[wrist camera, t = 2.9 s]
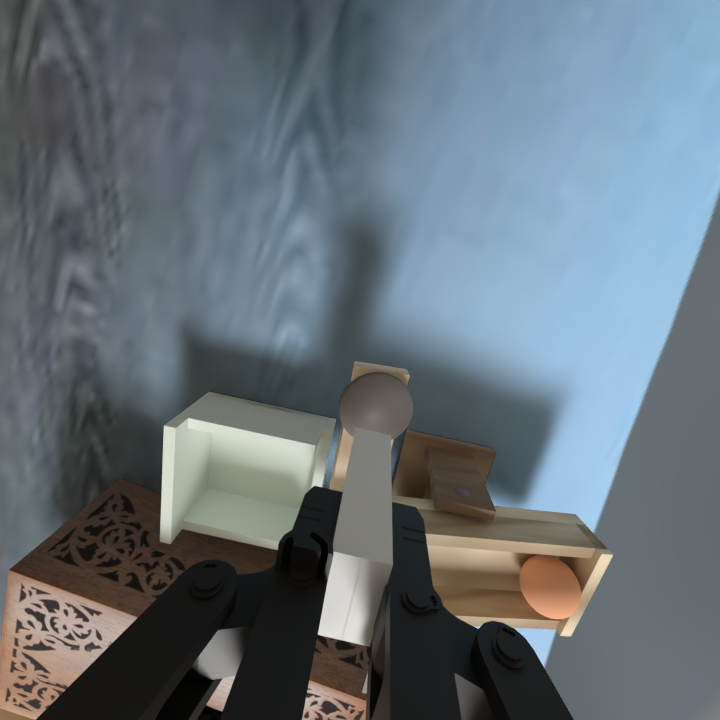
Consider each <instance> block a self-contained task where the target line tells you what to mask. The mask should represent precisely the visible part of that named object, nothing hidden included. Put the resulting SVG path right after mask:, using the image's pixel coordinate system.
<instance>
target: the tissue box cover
mask: <svg viewBox="0 0 720 720" xmlns="http://www.w3.org/2000/svg"><path fill="white" fill-rule="evenodd" d="M160 521H161V494H160V493H157V492H155V491H152V490H150V489H147V488H144V487H142V486H139V485H136V484H134V483H131V482H129V481H126V480H123V479H121V478H120V479H119V480H117V481H116V482H115V483H114V484H113V485H111V486H110V487H109V488H108V489H107V490H105V491H104V492H103V493H102V494H100V495H99V496H98V497H97V498H96V499H94V500H93V501H92V502H91V503H90V504H88V505H87V506H86V507H85V508H84V509H82V510H81V511H80V512H79V513H77V514H76V515H75V516H74V517H73V518H71V519H70V520H69V521H68V522H67V523H65V524H64V525H63V526H62V527H60V528H59V529H58V530H57V531H56V532H54V533H53V534H52V535H51V536H50V537H48V538H47V539H46V540H45V541H43V542H42V543H41V544H40V545H39V546H37V547H36V548H35V549H34V550H33V551H31V552H30V553H29V554H28V555H27V556H25V557H24V558H23V559H22V560H20V561H19V562H18V563H17V564H16V565H14V566H13V567H12V568H11V569H10V570H9V573H8V582H7V591H6V599H5V608H4V616H3V625H2V634H1V642H0V709H3V710H6V711H9V712H12V713H14V714H17V715H20V716H23V717H26V718H29V719H31V720H36V719H37V718H38V717H39V716H40V715H41V714H42V713H43V712H44V711H45V710H46V709H47V708H48V707H49V706H50V705H51V704H52V703H53V702H54V701H55V700H56V699H57V698H58V697H59V696H60V695H61V694H62V693H63V692H64V691H65V690H66V689H67V688H68V687H69V686H70V685H71V684H72V683H73V682H74V681H75V680H76V679H77V678H78V677H79V676H80V675H81V674H82V673H83V672H84V671H85V670H86V669H87V668H88V667H89V666H90V665H91V664H92V663H93V662H94V661H95V660H96V659H97V658H98V657H99V656H100V655H101V654H102V653H103V652H104V651H105V650H106V649H107V648H108V647H109V646H110V645H111V644H112V643H113V642H114V641H115V640H116V639H117V638H118V637H119V636H120V635H121V634H122V633H123V632H124V631H125V630H126V629H127V628H128V627H129V626H130V625H131V624H132V623H133V622H134V621H135V620H136V619H137V618H138V617H139V616H140V615H141V614H142V613H143V612H144V611H145V610H146V609H147V608H148V607H149V606H150V605H151V604H152V603H153V602H154V601H155V600H156V599H157V598H158V597H159V596H160V595H161V594H162V593H163V592H164V591H165V590H166V589H167V588H168V587H169V586H170V585H171V584H172V583H173V582H174V581H175V580H176V579H177V578H178V577H179V576H180V575H181V574H182V573H183V572H184V571H185V570H187V569H188V568H189V567H191V566H192V565H194V564H196V563H199V562H201V561H204V560H214V559H217V560H221V561H225V562H228V563H229V564H230V565H231V566H233V567H234V568H235V570H236V572H237V575H239V574H251V573H257V572H262V571H264V570H267V569H269V568H271V567H272V566H274V565H275V563H276V557H277V551H278V550H274V549H270V548H265V547H261V546H256V545H252V544H247V543H243V542H238V541H234V540H229V539H225V538H220V537H216V536H211V535H207V534H203V533H198V532H194V531H189V530H185V529H182V530H181V531H180V532H179V534H178V535H177V536H176V537H175V539H174V540H173V541H172V543H171V544H167V543H163V542H160ZM372 653H373V637H372V641H371V644H370V647H369V646H364V645H360V644H356V643H351V642H347V641H343V640H338V639H334V638H330V637H325V636H321V635H318V636H317V641H316V647H315V652H314V657H313V663H312V668H311V674H310V679H309V684H308V690H307V695H306V700H305V706H304V711H303V717H302V720H365V719H366V700H367V693H366V694H365V693H362V690H363V686H364V682H365V678H366V675H367V671H368V668H369V664H370V661H371V657H372ZM234 679H235V676H232V677H226V678H223V679H222V681H221V682H220V684H219V685H218V687H217V688H216V690H215V692H214V693H213V695H212V696H211V698H210V700H209V701H208V703H207V704H206V706H205V707H204V709H203V711H202V712H201V714H200V715H199V717H198V718H197V720H219V719H220V717H221V714H222V711H223V709H224V706H225V703H226V700H227V698H228V695H229V692H230V689H231V687H232V684H233V681H234Z"/></svg>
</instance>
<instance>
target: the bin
mask: <svg viewBox="0 0 720 720" xmlns="http://www.w3.org/2000/svg"><path fill="white" fill-rule="evenodd" d="M335 424H336V419H334V418H329V417H325V416H320V415H315V414H311V413H306V412H301V411H297V410H292V409H287V408H283V407H278V406H274V405H269V404H264V403H260V402H255V401H250V400H246V399H241V398H236V397H232V396H227V395H222V394H218V393H213V392H208V393H207V394H205V395H204V396H203V397H201V398H200V399H199V400H197V401H196V402H195V403H193V404H192V405H191V406H189V407H188V408H187V409H185V410H184V411H183V412H181V413H180V414H179V415H177V416H176V417H175V418H173V419H172V420H171V421H169V422H168V423H167V424H165V425H164V436H163V464H162V493H161V521H160V542H163V543H167V544H171V543H172V541H173V540H174V539H175V537H176V536H177V535H178V534H179V532H180V531H181V530H182V529H185V530H189V531H194V532H198V533H203V534H207V535H211V536H216V537H220V538H225V539H229V540H234V541H238V542H243V543H247V544H252V545H256V546H261V547H265V548H270V549H274V550H278V545H279V541H280V540H281V539H282V537H283V536H284V534H286V533H288V532H289V531H291V530H292V529H293V526H294V523H295V521H296V518H297V515H298V512H299V509H300V507H301V504H302V501H303V498H304V495H305V494H306V493H307V492H308V491H309V490H310V489H311V488H312V487H314V486H318V487H322V488H323V485H324V480H325V475H326V470H327V465H328V459H329V454H330V449H331V444H332V439H333V434H334V429H335Z"/></svg>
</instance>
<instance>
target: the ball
mask: <svg viewBox="0 0 720 720" xmlns="http://www.w3.org/2000/svg"><path fill="white" fill-rule="evenodd" d="M519 581H520V587H521V590H522V593H523V595H524V597H525V599H526V600H527V602H528V603H529V604H530V605H531V607H532V608H533V609H535V610H536V611H537V612H538V613H540V614H541V615H543V616H546V617H548V618H551V619H565V618H567V617H570V616H571V615H573V614H574V613H575V612H576V611H577V609H578V607H579V605H580V601H581V589H580V585H579V582H578V580H577V578H576V576H575V574H574V573H573V571H572V570H571V569H570V568H569V567H568V566H567V565H566V564H565V563H564V562H562V561H561V560H559V559H557V558H555V557H553V556H549V555H536V556H533V557H531V558H529V559H528V560H527V561H526V562H525V563H524V564H523V566H522V568H521V571H520V577H519Z"/></svg>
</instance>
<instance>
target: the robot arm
mask: <svg viewBox="0 0 720 720" xmlns="http://www.w3.org/2000/svg"><path fill="white" fill-rule="evenodd" d="M318 635H321V636H325V637H330V638H334V639H338V640H343V641H347V642H351V643H356V644H360V645H364V646H369V647H370V644H371V641H372V637H373V653H372V657H371V661H370V664H369V668H368V671H367V675H366V678H365V682H364V686H363V690H362V693H365V694H366V693H367V700H366V719H365V720H573V718H572V716H571V714H570V713H569V711H568V709H567V707H566V705H565V704H564V702H563V700H562V699H561V697H560V695H559V693H558V691H557V690H556V688H555V686H554V685H553V683H552V681H551V679H550V678H549V676H548V674H547V672H546V671H545V669H544V667H543V665H542V664H541V662H540V660H539V658H538V657H537V655H536V653H535V651H534V650H533V648H532V647H531V646H530V644H529V643H528V642H527V640H526V639H525V638H524V637H523V636H522V635H521V634H520V633H519V632H517V631H516V630H515V629H514V628H512V627H510V626H508V625H506V624H504V623H502V622H497V621H489V622H486V623H483V625H482V626H481V627H480V628H479V629H477V628H475V627H473V626H471V625H470V624H468V623H466V622H464V621H462V620H460V619H459V618H457V617H456V616H454V615H453V614H451V613H450V612H449V611H448V610H447V609H446V608H445V607H444V606H443V604H442V601H441V598H440V596H439V595H438V594H437V592H436V591H435V590H434V588H433V583H432V576H431V569H430V561H429V554H428V547H427V540H426V534H425V525H424V519H423V517H422V516H421V514H420V513H419V511H418V509H417V508H416V507H413V506H409V505H404V504H400V503H395V502H392V477H391V435H388V434H384V433H379V432H374V431H370V430H365V429H361V428H356V429H355V434H354V438H353V443H352V448H351V452H350V457H349V461H348V466H347V471H346V475H345V480H344V485H343V490H342V492H340V491H336V490H331V489H327V488H322V487H318V486H314V487H312V488H311V489H310V490H309V491H308V492H307V493H306V494H305V495H304V498H303V501H302V504H301V507H300V509H299V512H298V515H297V518H296V521H295V523H294V526H293V529H292V530H291V531H289V532H288V533H286V534H284V536H283V537H282V539H281V540H280V541H279V545H278V551H277V557H276V563H275V565H274V566H272V567H271V568H269V569H267V570H264V571H262V572H257V573H251V574H239V575H237V572H236V570H235V568H234V567H233V566H231V565H230V564H229V563H228V562H225V561H221V560H217V559H214V560H204V561H201V562H199V563H196V564H194V565H192V566H191V567H189V568H188V569H187V570H185V571H184V572H183V573H182V574H181V575H180V576H179V577H178V578H177V579H176V580H175V581H174V582H173V583H172V584H171V585H170V586H169V587H168V588H167V589H166V590H165V591H164V592H163V593H162V594H161V595H160V596H159V597H158V598H157V599H156V600H155V601H154V602H153V603H152V604H151V605H150V606H149V607H148V608H147V609H146V610H145V611H144V612H143V613H142V614H141V615H140V616H139V617H138V618H137V619H136V620H135V621H134V622H133V623H132V624H131V625H130V626H129V627H128V628H127V629H126V630H125V631H124V632H123V633H122V634H121V635H120V636H119V637H118V638H117V639H116V640H115V641H114V642H113V643H112V644H111V645H110V646H109V647H108V648H107V649H106V650H105V651H104V652H103V653H102V654H101V655H100V656H99V657H98V658H97V659H96V660H95V661H94V662H93V663H92V664H91V665H90V666H89V667H88V668H87V669H86V670H85V671H84V672H83V673H82V674H81V675H80V676H79V677H78V678H77V679H76V680H75V681H74V682H73V683H72V684H71V685H70V686H69V687H68V688H67V689H66V690H65V691H64V692H63V693H62V694H61V695H60V696H59V697H58V698H57V699H56V700H55V701H54V702H53V703H52V704H51V705H50V706H49V707H48V708H47V709H46V710H45V711H44V712H43V713H42V714H41V715H40V716H39V717H38V718H37V719H36V720H197V718H198V717H199V715H200V714H201V712H202V711H203V709H204V707H205V706H206V704H207V703H208V701H209V700H210V698H211V696H212V695H213V693H214V692H215V690H216V688H217V687H218V685H219V684H220V682H221V681H222V679H223V678H226V677H232V676H235V679H234V681H233V684H232V687H231V689H230V692H229V695H228V698H227V700H226V703H225V706H224V709H223V711H222V714H221V717H220V719H219V720H302V717H303V711H304V706H305V700H306V695H307V690H308V684H309V679H310V674H311V668H312V663H313V657H314V652H315V647H316V641H317V636H318Z"/></svg>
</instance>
